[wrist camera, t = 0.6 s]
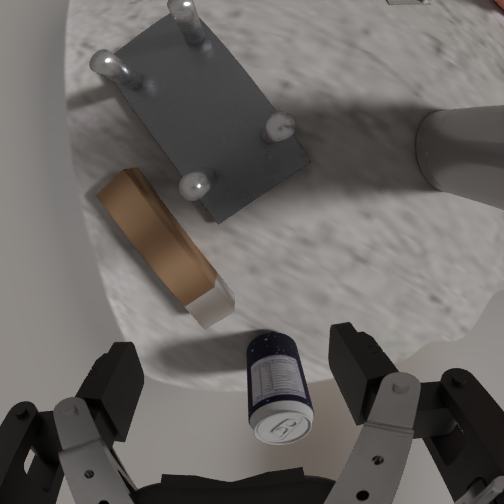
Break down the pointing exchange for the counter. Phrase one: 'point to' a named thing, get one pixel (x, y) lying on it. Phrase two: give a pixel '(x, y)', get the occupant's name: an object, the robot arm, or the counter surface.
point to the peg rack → (204, 111)
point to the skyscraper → (408, 2)
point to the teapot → (500, 3)
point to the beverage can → (277, 390)
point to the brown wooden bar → (167, 247)
